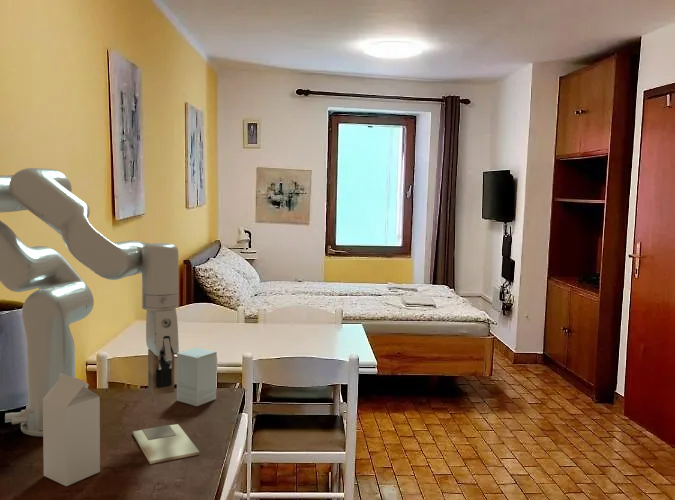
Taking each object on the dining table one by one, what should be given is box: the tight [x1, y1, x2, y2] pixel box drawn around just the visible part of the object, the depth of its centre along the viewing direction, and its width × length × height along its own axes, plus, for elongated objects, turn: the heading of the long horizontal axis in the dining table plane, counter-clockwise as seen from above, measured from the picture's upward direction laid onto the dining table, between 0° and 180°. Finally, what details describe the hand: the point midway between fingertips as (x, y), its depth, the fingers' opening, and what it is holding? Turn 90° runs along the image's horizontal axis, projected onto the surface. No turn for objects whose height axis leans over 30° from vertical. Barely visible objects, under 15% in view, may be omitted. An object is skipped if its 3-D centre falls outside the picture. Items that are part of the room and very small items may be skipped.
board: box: [132, 423, 201, 465], centre depth 129 cm, size 10×16×1 cm, turn 30°
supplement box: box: [176, 347, 218, 407], centre depth 155 cm, size 7×7×13 cm
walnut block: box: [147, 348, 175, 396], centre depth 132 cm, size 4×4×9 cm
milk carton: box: [42, 373, 101, 487], centre depth 113 cm, size 7×7×19 cm
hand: (160, 382), depth 132 cm, fingers closed on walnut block, 4 cm apart
